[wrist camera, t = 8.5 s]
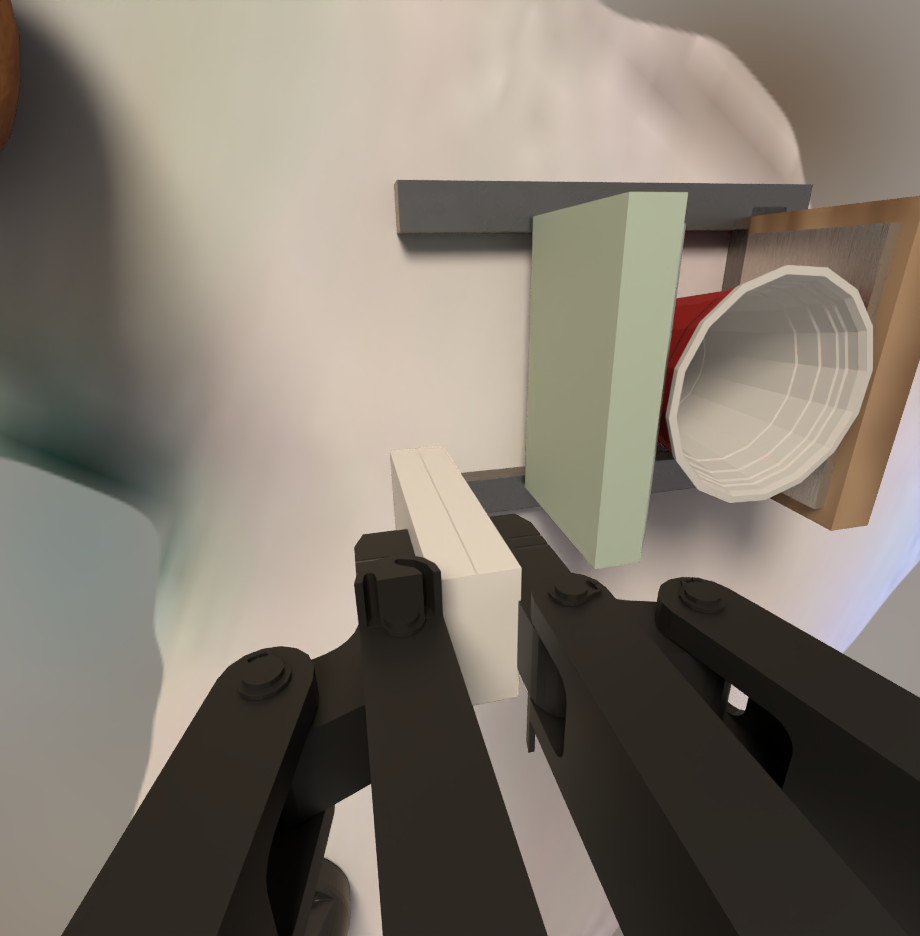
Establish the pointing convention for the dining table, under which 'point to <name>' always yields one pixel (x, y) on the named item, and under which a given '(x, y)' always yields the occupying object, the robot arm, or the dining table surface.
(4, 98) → the butternut squash
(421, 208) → the vise bed
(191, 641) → the dining table surface
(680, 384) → the plastic cup
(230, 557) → the dining table surface
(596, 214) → the block
